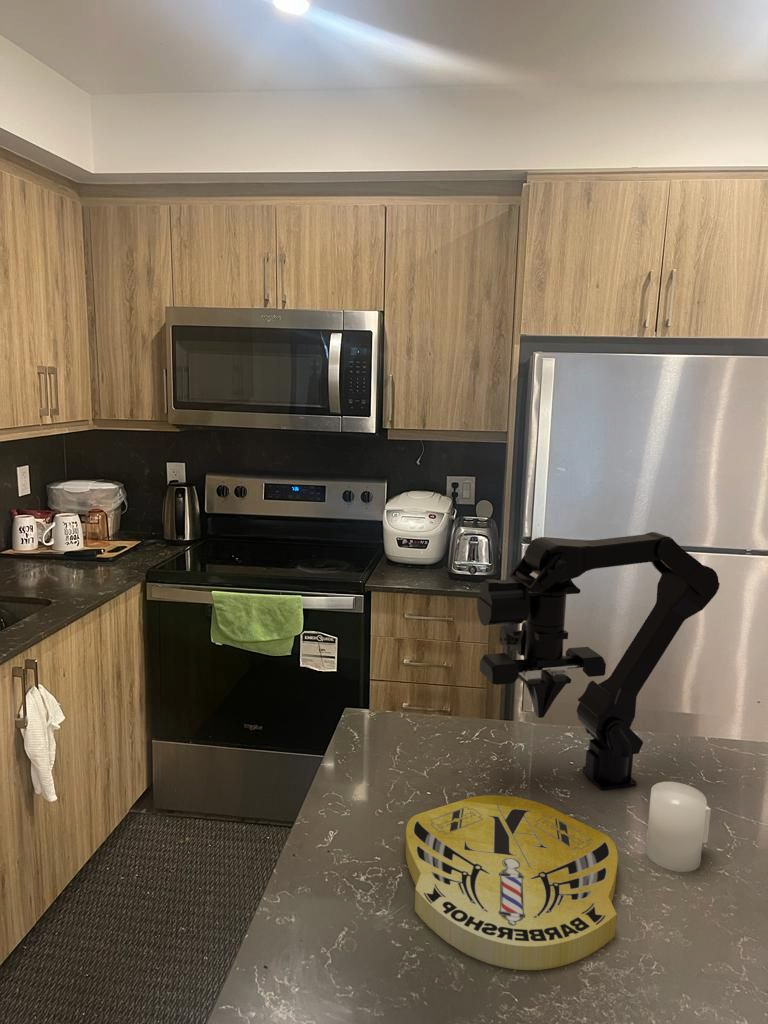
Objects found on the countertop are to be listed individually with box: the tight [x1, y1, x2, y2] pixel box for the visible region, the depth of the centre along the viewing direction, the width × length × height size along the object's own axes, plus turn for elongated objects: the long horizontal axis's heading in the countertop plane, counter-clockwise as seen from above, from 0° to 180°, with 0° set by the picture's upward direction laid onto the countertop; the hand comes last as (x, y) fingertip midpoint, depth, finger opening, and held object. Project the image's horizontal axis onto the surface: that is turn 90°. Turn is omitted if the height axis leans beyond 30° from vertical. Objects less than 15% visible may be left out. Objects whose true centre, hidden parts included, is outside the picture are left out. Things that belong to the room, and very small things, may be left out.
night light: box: [645, 781, 712, 873], centre depth 102 cm, size 8×7×9 cm
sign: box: [405, 794, 619, 971], centre depth 97 cm, size 28×3×30 cm
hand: (539, 716), depth 117 cm, fingers closed
